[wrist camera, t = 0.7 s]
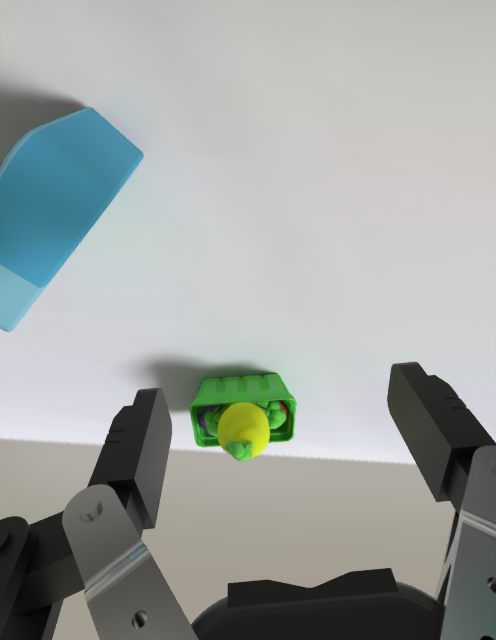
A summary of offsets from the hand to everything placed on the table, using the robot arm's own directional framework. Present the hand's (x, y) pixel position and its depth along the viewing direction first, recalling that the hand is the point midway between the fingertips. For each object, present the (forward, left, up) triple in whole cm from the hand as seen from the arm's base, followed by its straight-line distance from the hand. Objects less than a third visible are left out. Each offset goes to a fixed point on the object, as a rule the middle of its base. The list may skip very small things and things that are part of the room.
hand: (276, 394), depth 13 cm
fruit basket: (+23, +1, -22) cm, 31 cm away
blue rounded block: (0, -13, -22) cm, 25 cm away
